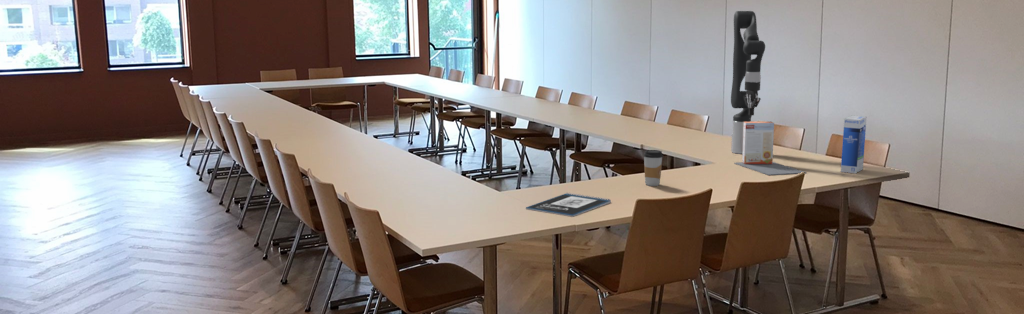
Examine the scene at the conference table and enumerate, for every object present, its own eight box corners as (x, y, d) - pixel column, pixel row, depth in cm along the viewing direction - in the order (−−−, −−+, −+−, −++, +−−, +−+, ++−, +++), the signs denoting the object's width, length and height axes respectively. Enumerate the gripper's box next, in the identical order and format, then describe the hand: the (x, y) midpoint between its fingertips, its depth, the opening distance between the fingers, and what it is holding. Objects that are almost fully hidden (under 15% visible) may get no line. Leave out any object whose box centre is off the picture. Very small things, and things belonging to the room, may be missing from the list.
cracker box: (769, 162, 436) (772, 121, 433) (772, 164, 430) (774, 122, 427) (741, 162, 437) (743, 120, 433) (743, 164, 431) (745, 122, 428)
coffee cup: (657, 187, 379) (658, 153, 377) (639, 185, 384) (640, 151, 381) (664, 184, 386) (665, 150, 384) (647, 182, 390) (648, 149, 388)
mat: (734, 163, 436) (734, 162, 436) (769, 161, 441) (769, 160, 441) (768, 175, 405) (768, 174, 405) (806, 173, 410) (806, 172, 410)
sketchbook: (525, 210, 339) (525, 205, 339) (566, 197, 363) (566, 192, 363) (572, 218, 327) (572, 212, 326) (611, 203, 351) (611, 198, 350)
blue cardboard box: (847, 167, 424) (851, 115, 420) (863, 169, 420) (867, 116, 415) (840, 172, 414) (843, 118, 409) (856, 173, 409) (860, 119, 405)
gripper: (739, 80, 439) (737, 114, 442) (752, 82, 427) (751, 117, 430) (752, 79, 441) (750, 113, 444) (766, 81, 429) (764, 116, 432)
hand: (751, 115), depth 437 cm, fingers closed
